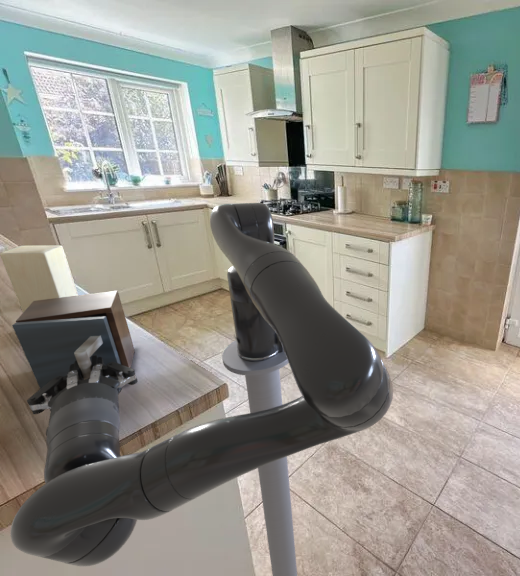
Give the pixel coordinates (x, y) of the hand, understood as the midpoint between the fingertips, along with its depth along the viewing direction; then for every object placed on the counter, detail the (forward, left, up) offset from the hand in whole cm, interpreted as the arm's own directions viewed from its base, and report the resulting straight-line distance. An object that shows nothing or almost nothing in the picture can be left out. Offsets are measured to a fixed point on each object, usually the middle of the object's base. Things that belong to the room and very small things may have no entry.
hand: (87, 362), depth 59 cm
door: (+3, -1, -7) cm, 8 cm away
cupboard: (+2, -10, -8) cm, 13 cm away
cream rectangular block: (+12, -32, -8) cm, 35 cm away
